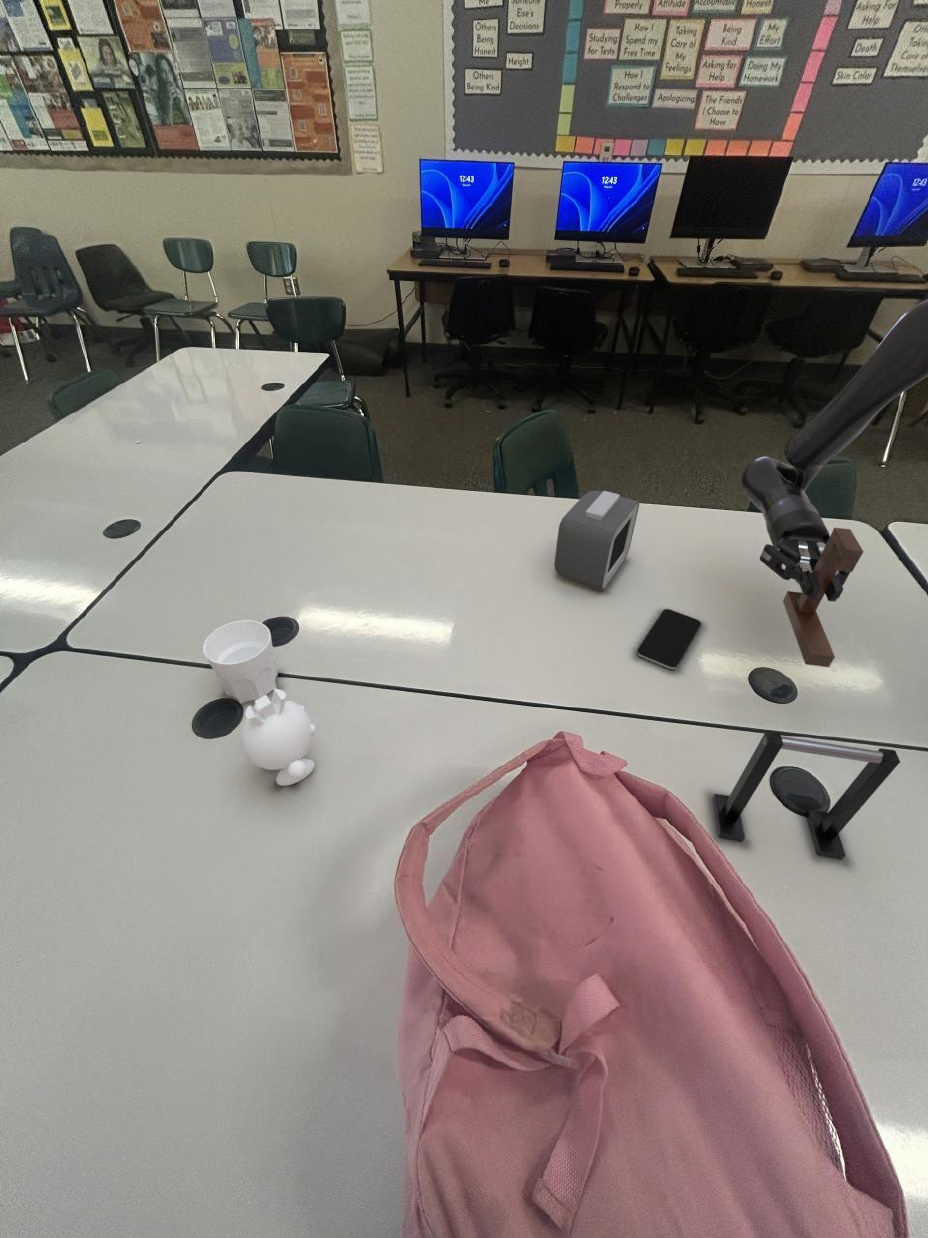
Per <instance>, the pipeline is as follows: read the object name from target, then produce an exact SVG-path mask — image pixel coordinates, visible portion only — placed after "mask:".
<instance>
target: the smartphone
mask: <svg viewBox="0 0 928 1238" xmlns="http://www.w3.org/2000/svg"><path fill="white" fill-rule="evenodd" d="M701 626H702V622H701V621H700V620H699V619H697V618H694V617H691V616H689V615H686V614H683V613H681V612H678V611H675V610H673V609H670V608H665V609H662V612H661V613H660V615H659V616H658V617H657V619H656V621H655V622H654V623H653V625H652V627H651V628H650V630H649V631H648V633H647V634H646V635H645V637H644V639H643V640H642V642H641V644H640V645H639V646H638V648H637V650H636V655H638V656H639V657H640V658H643V659H645V660H648V661H649V662H652V663H655V664H657V665H660V666H663V667H664V668H666V669H668V670H676V669H678V667H679V665H680V663H682V660H683V659H684V657H685V655H686V653H687V652H688V650H689V648H690V646H691V644H692V642H693V640H694V639H695V637H696V635H697V634H698V632H699V630H700V628H701Z"/></svg>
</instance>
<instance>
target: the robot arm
mask: <svg viewBox="0 0 928 1238" xmlns="http://www.w3.org/2000/svg"><path fill="white" fill-rule="evenodd" d="M927 377H928V298H927V299H925V300H923V301H920V302H918V303H917V304H916V305H914V306H912V307H911V308H909V309H908V310H907V311H906V312H905V313H904V314H903V315H902V316H901V317H900V318H899V319H898V320H897V322H896V323H895V324H894V325H893V327H892V328H891V329H890V331H889V332H888V333H886V335H885V337H884V338H883V340H881V342H880V344H879V345H878V346H876V349H875V350H874V351H873V353H872V354H871V355H870V356H869V358H868V359H867V360H866V361H865V363H864V364H863V365H862V366H861V367H860V369H858V371H857V372H856V373H855V374H854V375H853V377H852V378H851V379H850V380H849V381H848V382H847V383H846V385H845V386H843V387H842V389H841V390H839V392H838V393H837V394H836V395H835V396H833V398H832V399H831V400H830V401H828V402H827V404H825V406H823V408H821V409H820V410H819V411H818V412H817V413H816V414H815V415H813V417H812V418H810V419H809V421H808V422H806V423H805V425H804V426H802V427H801V428H800V429H799V430H798V431H797V432H796V433H795V434H794V435H793V436H791V438H790V439H789V440H788V441H787V442H786V444H785V445H784V449H783V452H784V453H783V454H784V457H785V459H786V460H787V461H788V463H787V462H784V461H781V460H778V459H776V458H774V457H771V456H760V457H758V458H755V459H753V460H752V461H751V462H750V463H749V464H747V466H745V469H744V471H743V474H742V478H741V486H742V490H743V492H744V494H745V496H746V497H747V498H748V500H749V501H751V502H752V504H753V505H754V506H755V507H756V508H757V509H759V511H760V512H761V513H762V517H763V519H764V521H765V527H766V531H767V534H768V537H769V539H770V542H771V544H769V543H766V544H764V547H763V549H762V551H761V554H760V556H759V561H760V562H762V564H764V565H765V566H766V567H768V568H769V569H770V570H771V571H773V573H775V574H776V575H778V577H780V578H781V579H783V580H785V581H790V580H791V579H792V580H794V581H795V583H797V584H798V585H799V587H800V589H801V593H802V592H803V593H804V594H805V595H807V597H808V599H815V598H816V596H817V594H818V592H819V590H820V586H819V584H818V581H817V579H816V577H815V575H814V573H813V570H814V568H815V566H816V564H817V562H818V560H819V558H820V556H821V554H822V552H823V550H824V548H825V546H826V544H827V542H828V540H829V538H830V536H831V534H830V532H829V530H828V529H827V526H826V524H825V523H824V521H823V518H822V517H821V515H820V513H819V511H818V509H817V508H816V507H815V506H814V505H813V503H812V502H811V501H810V499H809V497H808V494H807V493H806V491H807V490H808V488H809V486H810V485H811V484H812V482H813V481H814V479H815V478H816V476H817V475H818V474H819V473H820V471H821V470H822V469H823V467H824V466H825V465H827V464H828V463H829V462H830V461H832V460H833V459H834V458H835V457H836V456H837V455H839V454H840V453H841V452H843V450H845V449H846V448H847V447H848V446H849V445H850V444H852V442H853V441H855V440H856V439H857V438H858V437H859V436H860V435H861V433H862V432H863V431H864V430H865V428H867V426H868V425H869V424H870V422H871V421H872V420H873V419H874V417H876V416H877V414H878V413H879V412H880V411H882V410H883V409H884V408H885V407H886V406H887V405H888V404H889V403H891V402H892V401H893V400H894V399H895V398H897V397H898V396H899V395H901V394H903V393H904V392H906V391H907V390H908V389H911V388H912V387H913V386H915V385H916V384H917V383H920V382H921V381H922V380H924V379H925V378H927ZM783 565H784V566H785V567H784V568H783ZM850 575H851V572H848V571H838V570H837V572H836V574H835V576H834V577H833V579H832V581H831V583H830V585H829V587H828V589H827V591H826V592H825V594H824V595H825V596H826V598H827V600H828V602H832V603H833V602H836V601H837V600H839V599H840V597H841V595H842V593H843V591H844V587H843V586H844V585H845V583H846V581H847V579H848V577H849V576H850Z"/></svg>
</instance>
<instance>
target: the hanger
mask: <svg viewBox="0 0 928 1238" xmlns="http://www.w3.org/2000/svg"><path fill="white" fill-rule="evenodd" d="M863 553H864V550H863V548H862V546H861V545H860V542H859V541H858V539H857V538H856V536H855V535H854V533H853V531H852V529H851V528H843V527H834V528H833V529H832V532H831V533H830V538H829V540H828V542H827V544H826V546H825V548H824V550H823V552H822V554H821V556H820V558H819V560H818V562H817V564H816V566H815V568H814V570H813V573H814V575H815V577H816V579H817V581H818V584H819V586H820V590H819V592H818V594H817V596H816V598H815V599H808V597H807V595H805V594H804V593H803V592H802V591H801V592H800V591H790V590H787V591H786V593H785V596H784V597H783V600H782V602H783V605H784V609H785V611H786V614H787V617H788V619H789V622H790V625H791V628H792V631H793V634H794V636H795V638H796V642H797V645H798V649H799V651H800V653H801V656H802V658H803V662H804V664H805V665H807V666H814V667H815V666H816V667H823V668H830V666H831V665H832V663H833V661H834V659H835V658H836V656H835V654H834V653H835V652H834V651H833V649H832V647H831V644H830V642H829V639H828V636H827V634H826V632H825V630H824V627H823V625H822V622H821V620H820V617H819V615H818V613H817V610H818V608H819V606H820V604H821V602H822V600H823V598H824V596H825V595H826V594H825V592H826V591H827V589H828V587H829V585H830V583H831V581H832V579H833V577H834V576H835V574H836V572H837V570H838V571H848V572H850V573H852V572H853V571H854V570H855V568H856V566H857V565H858V563H859V560H860V558H861V557H862V556H863Z"/></svg>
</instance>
